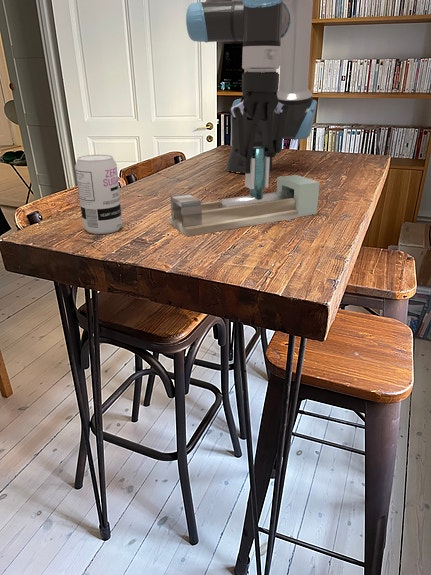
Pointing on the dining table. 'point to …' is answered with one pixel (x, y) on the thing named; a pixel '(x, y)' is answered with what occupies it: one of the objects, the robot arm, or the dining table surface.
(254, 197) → the sliding bolt
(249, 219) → the rail
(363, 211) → the dining table surface
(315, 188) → the socket
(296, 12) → the robot arm
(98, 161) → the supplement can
